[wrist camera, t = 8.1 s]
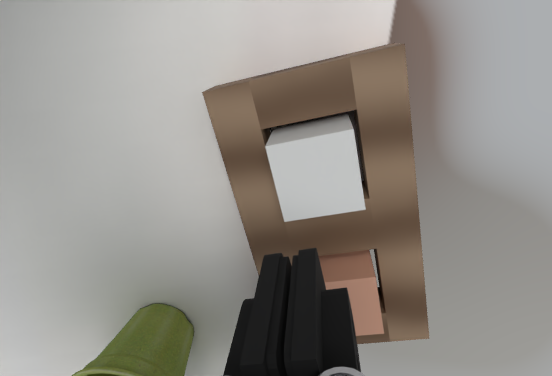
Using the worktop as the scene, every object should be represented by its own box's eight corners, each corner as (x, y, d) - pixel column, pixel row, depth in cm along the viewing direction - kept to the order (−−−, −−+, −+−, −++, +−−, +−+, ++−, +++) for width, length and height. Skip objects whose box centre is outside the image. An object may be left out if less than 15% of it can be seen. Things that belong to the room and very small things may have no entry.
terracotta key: (302, 251, 27) (300, 285, 23) (367, 243, 26) (375, 276, 22) (314, 301, 29) (314, 339, 25) (375, 294, 28) (384, 333, 24)
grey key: (273, 129, 23) (265, 146, 19) (347, 113, 22) (353, 128, 18) (289, 194, 25) (284, 222, 21) (358, 183, 24) (365, 209, 20)
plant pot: (220, 305, 32) (188, 393, 24) (202, 369, 36) (169, 463, 28) (124, 276, 32) (60, 355, 24) (116, 344, 36) (60, 431, 28)
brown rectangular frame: (215, 86, 24) (202, 92, 21) (393, 43, 21) (404, 44, 19) (284, 323, 32) (281, 349, 29) (418, 310, 30) (429, 338, 27)
